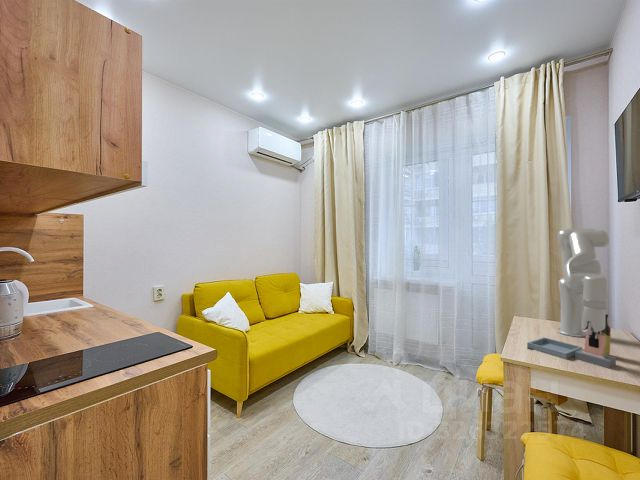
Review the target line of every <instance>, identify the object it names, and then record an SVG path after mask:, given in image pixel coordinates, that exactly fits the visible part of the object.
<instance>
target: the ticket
mask: <svg viewBox="0 0 640 480" xmlns="http://www.w3.org/2000/svg"><path fill="white" fill-rule="evenodd" d="M585 333H586V336H585V337H584V338H585V339H584V348H583V349H584V352H586V353H590V354H594V355H597V356H601V357H604V348H605V339H606V336H604V335H600V334H598V339H599V348H595V347H591V346H589V337H588V334H587V330H585Z"/></svg>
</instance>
